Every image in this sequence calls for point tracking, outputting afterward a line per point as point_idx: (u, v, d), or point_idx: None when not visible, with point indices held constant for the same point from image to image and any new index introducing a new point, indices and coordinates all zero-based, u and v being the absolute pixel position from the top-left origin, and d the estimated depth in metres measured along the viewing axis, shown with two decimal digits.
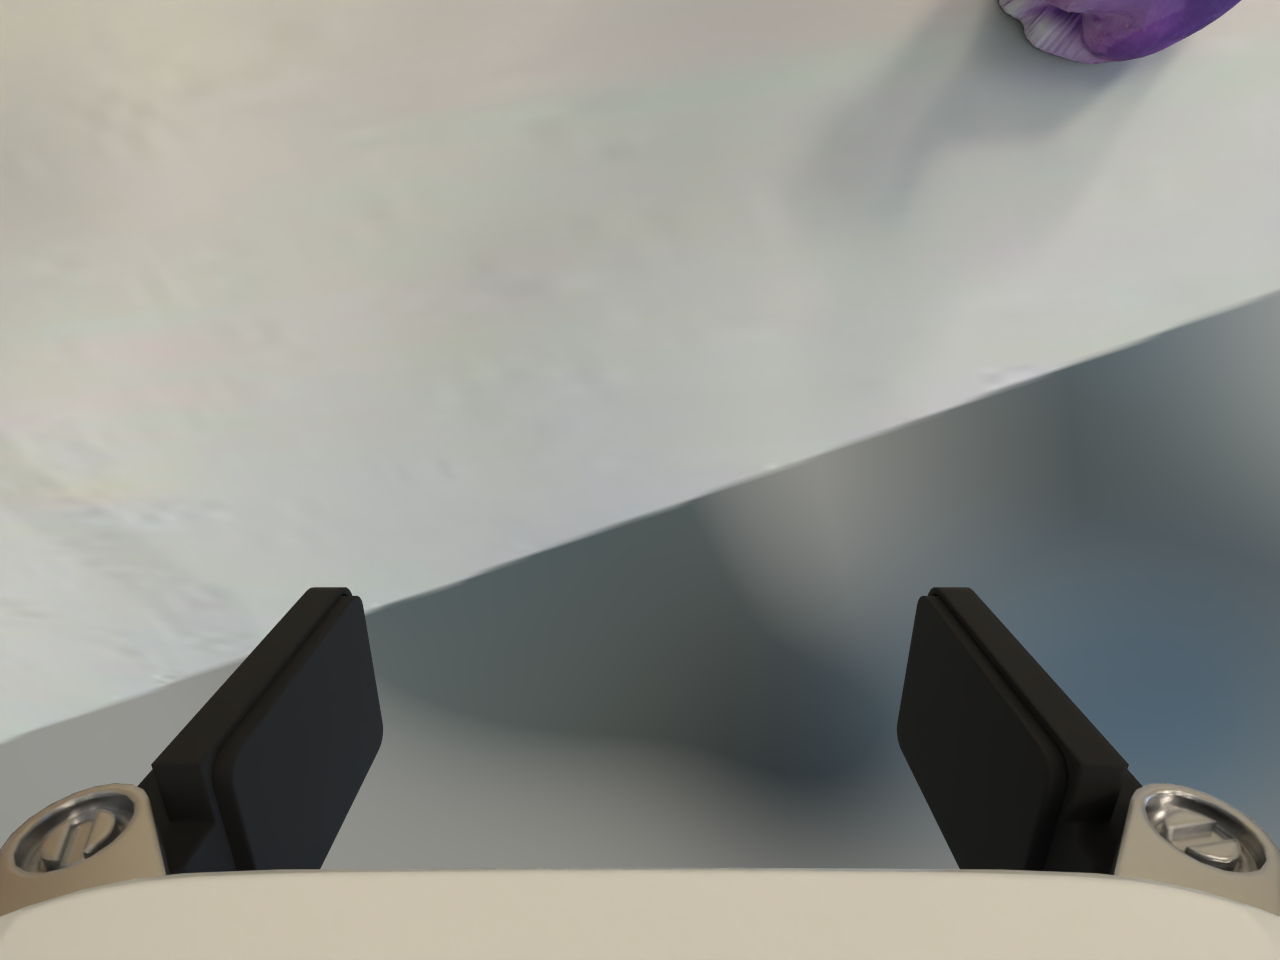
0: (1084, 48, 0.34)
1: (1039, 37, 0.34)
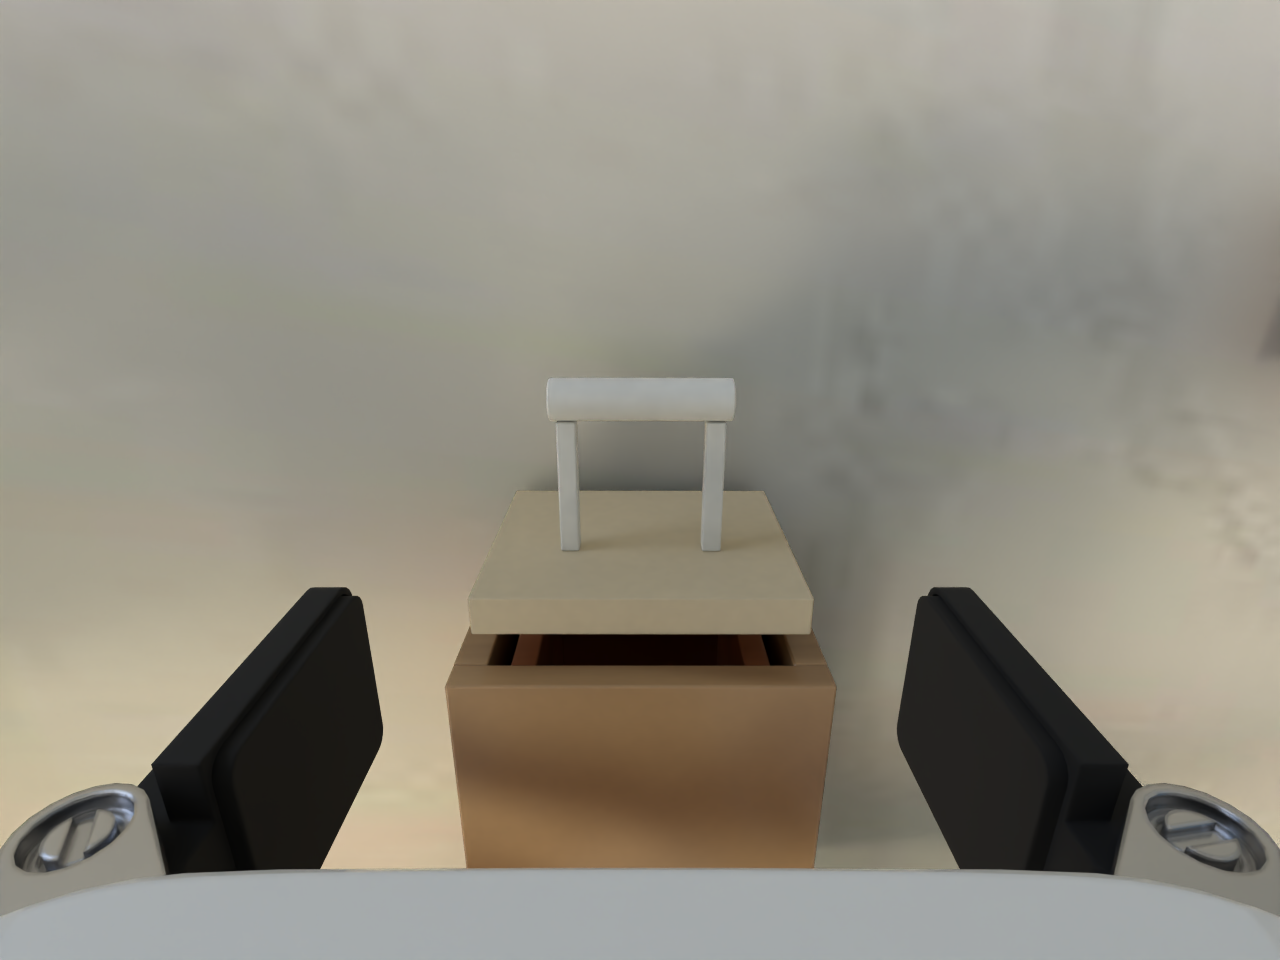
0: None
1: None
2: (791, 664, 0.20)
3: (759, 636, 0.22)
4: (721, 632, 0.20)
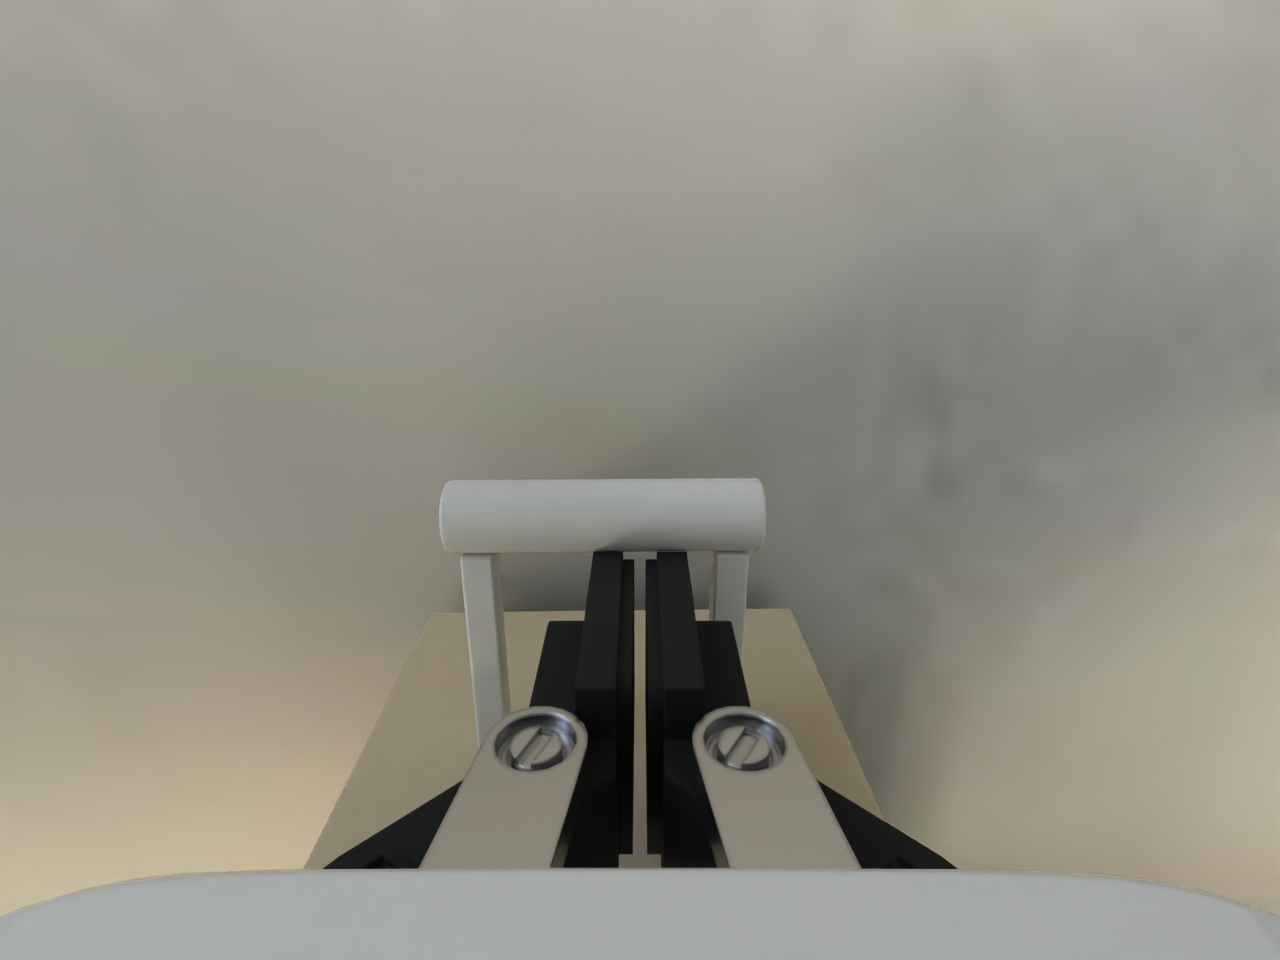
0: None
1: None
2: None
3: None
4: None
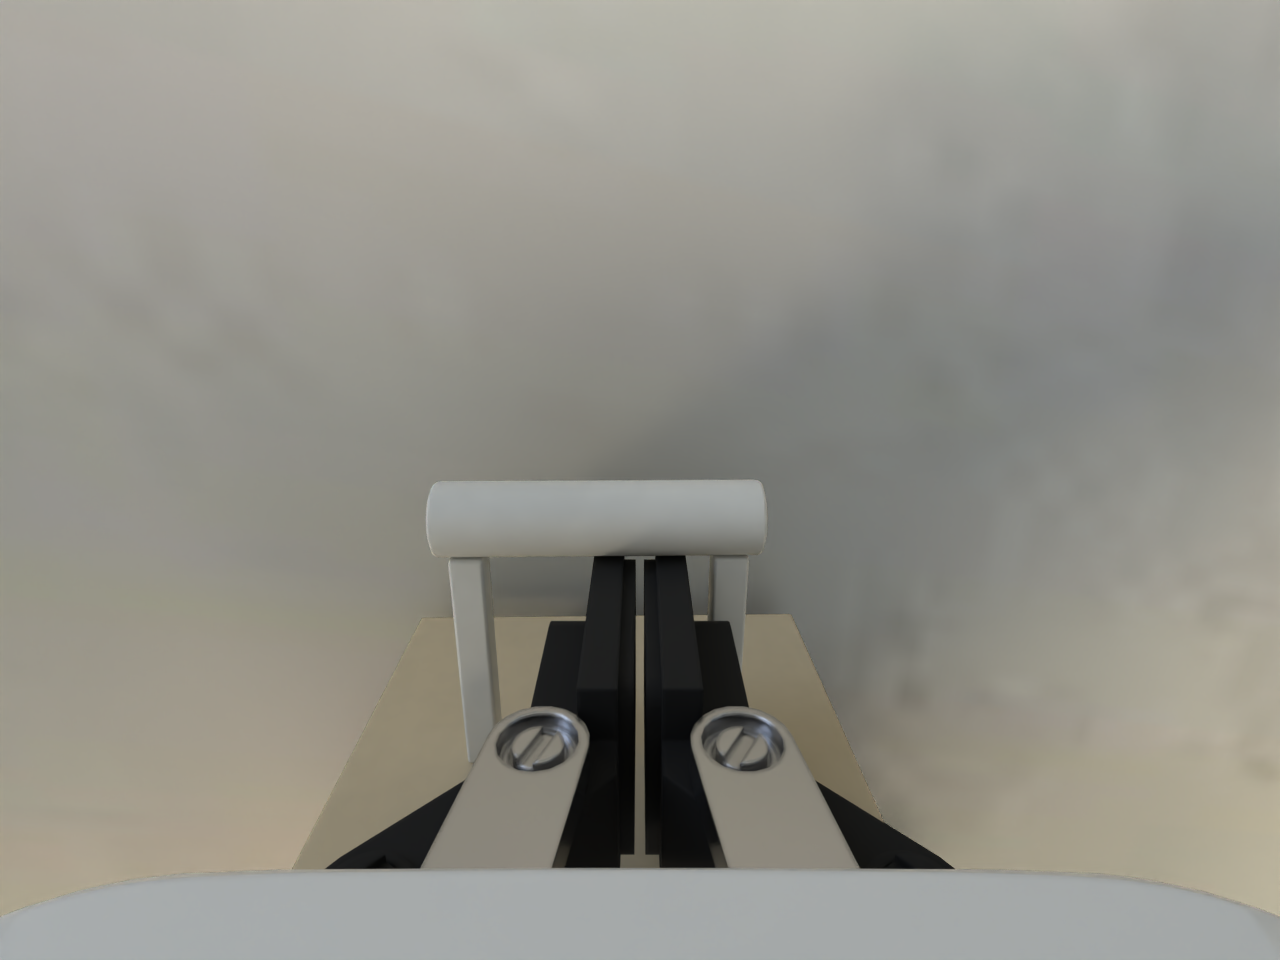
0: None
1: None
2: None
3: None
4: None
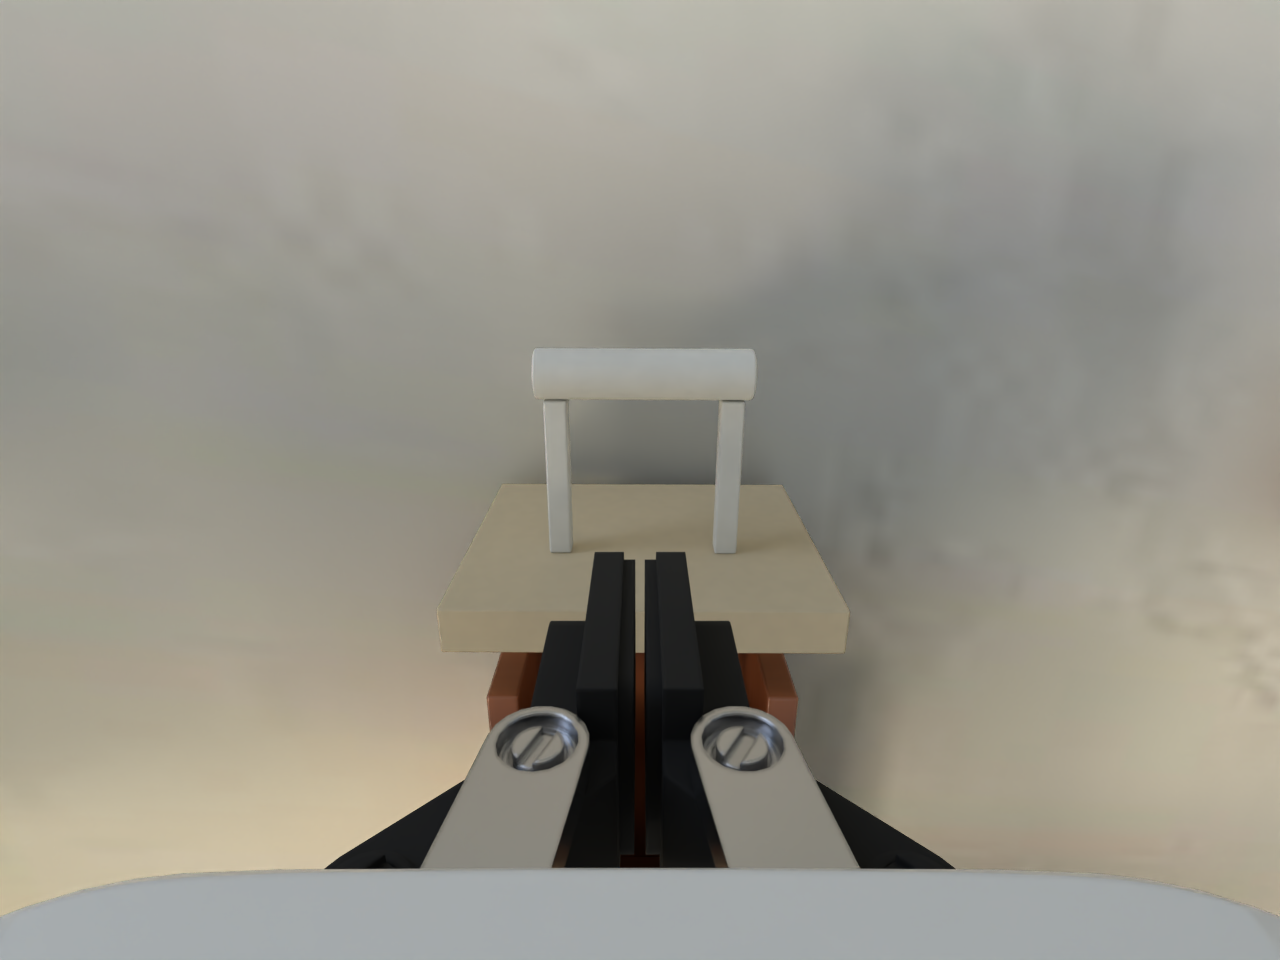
0: None
1: None
2: None
3: (781, 653, 0.19)
4: (739, 651, 0.16)
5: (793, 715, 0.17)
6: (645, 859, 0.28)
